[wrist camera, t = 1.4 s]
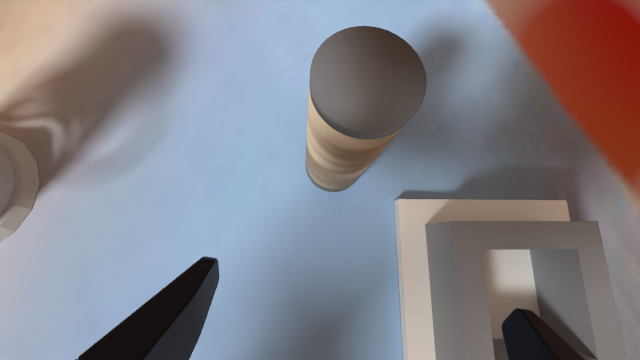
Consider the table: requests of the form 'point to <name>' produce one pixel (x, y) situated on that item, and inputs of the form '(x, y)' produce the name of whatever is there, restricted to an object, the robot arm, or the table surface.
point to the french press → (16, 183)
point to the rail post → (358, 102)
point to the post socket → (500, 277)
